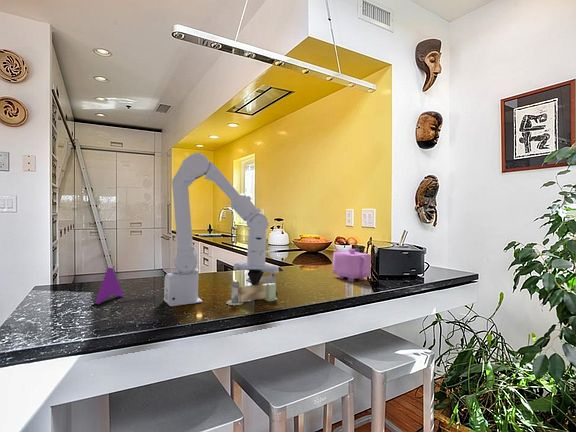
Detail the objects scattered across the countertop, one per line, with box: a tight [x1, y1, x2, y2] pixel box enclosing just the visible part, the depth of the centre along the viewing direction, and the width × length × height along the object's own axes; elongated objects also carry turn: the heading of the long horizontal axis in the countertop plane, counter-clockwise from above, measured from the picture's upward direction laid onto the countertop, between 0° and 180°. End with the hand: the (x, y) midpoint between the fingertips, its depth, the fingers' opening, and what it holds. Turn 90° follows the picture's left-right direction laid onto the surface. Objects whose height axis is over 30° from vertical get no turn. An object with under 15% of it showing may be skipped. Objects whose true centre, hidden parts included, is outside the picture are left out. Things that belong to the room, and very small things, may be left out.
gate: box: [238, 283, 271, 302], centre depth 104 cm, size 11×2×4 cm, turn 123°
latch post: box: [264, 283, 278, 302], centre depth 105 cm, size 3×2×5 cm
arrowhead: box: [94, 267, 125, 305], centre depth 100 cm, size 10×2×10 cm
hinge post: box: [225, 280, 244, 307], centre depth 100 cm, size 5×5×7 cm
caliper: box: [246, 272, 277, 285], centre depth 124 cm, size 20×1×6 cm, turn 35°
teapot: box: [332, 248, 372, 282], centre depth 142 cm, size 20×10×12 cm, turn 32°
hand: (255, 293), depth 106 cm, fingers closed, pressing on gate
